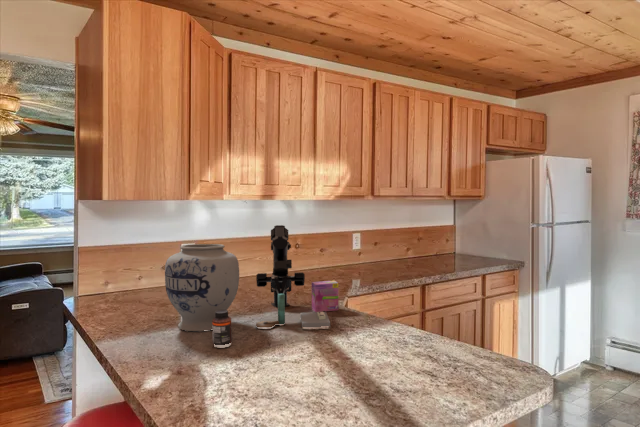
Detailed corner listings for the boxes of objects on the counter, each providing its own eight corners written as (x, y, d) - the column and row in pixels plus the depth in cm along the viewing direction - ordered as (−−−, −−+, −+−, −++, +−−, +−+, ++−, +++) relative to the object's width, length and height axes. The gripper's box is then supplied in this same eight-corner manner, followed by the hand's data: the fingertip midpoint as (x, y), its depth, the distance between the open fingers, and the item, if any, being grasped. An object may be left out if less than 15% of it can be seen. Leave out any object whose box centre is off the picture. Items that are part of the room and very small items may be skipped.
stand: (300, 319, 168) (300, 307, 168) (325, 318, 169) (325, 306, 169) (302, 330, 154) (302, 316, 154) (330, 329, 155) (330, 315, 155)
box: (314, 312, 178) (314, 284, 177) (311, 309, 183) (311, 281, 183) (338, 310, 180) (338, 282, 180) (334, 307, 186) (334, 280, 185)
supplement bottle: (224, 341, 142) (223, 307, 142) (235, 345, 139) (235, 310, 138) (208, 346, 138) (208, 311, 137) (220, 350, 134) (220, 314, 133)
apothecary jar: (166, 319, 169) (164, 242, 168) (234, 312, 178) (233, 240, 177) (165, 340, 144) (163, 250, 143) (245, 331, 153) (244, 247, 152)
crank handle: (256, 324, 161) (256, 293, 161) (284, 323, 162) (284, 293, 162) (255, 330, 154) (255, 298, 154) (285, 329, 155) (284, 297, 155)
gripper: (256, 252, 168) (255, 286, 157) (304, 251, 170) (306, 285, 159) (257, 269, 176) (256, 303, 165) (303, 268, 178) (305, 301, 167)
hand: (280, 298), depth 164 cm, fingers closed
